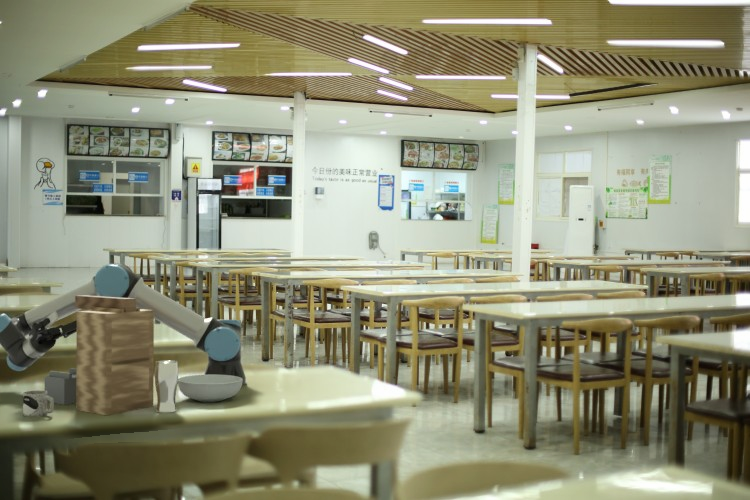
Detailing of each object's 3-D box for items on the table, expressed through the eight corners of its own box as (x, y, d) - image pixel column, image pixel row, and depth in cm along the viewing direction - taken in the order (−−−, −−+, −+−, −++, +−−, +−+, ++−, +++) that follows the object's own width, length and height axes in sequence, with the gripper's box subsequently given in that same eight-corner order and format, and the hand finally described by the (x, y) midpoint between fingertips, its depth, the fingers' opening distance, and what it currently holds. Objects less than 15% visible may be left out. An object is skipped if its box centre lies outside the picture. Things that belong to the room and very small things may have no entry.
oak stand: (76, 409, 271) (76, 308, 271) (123, 401, 286) (123, 304, 285) (106, 415, 263) (106, 310, 263) (153, 406, 278) (153, 306, 278)
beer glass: (156, 414, 266) (156, 363, 265) (152, 409, 272) (152, 360, 272) (180, 412, 268) (180, 362, 268) (175, 408, 275) (175, 359, 275)
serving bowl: (243, 404, 282) (243, 383, 282) (175, 406, 279) (175, 384, 278) (242, 393, 303) (242, 373, 302) (179, 394, 299) (179, 374, 299)
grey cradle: (44, 401, 285) (44, 371, 285) (76, 395, 295) (76, 367, 295) (64, 404, 279) (64, 374, 279) (95, 399, 289) (95, 370, 289)
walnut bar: (75, 308, 282) (75, 295, 282) (85, 307, 285) (85, 295, 285) (125, 312, 269) (125, 299, 268) (136, 311, 272) (136, 298, 272)
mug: (18, 415, 262) (18, 393, 262) (34, 411, 268) (34, 389, 268) (45, 418, 258) (45, 395, 258) (61, 414, 264) (61, 392, 264)
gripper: (75, 349, 305) (110, 321, 294) (9, 357, 284) (44, 327, 273) (68, 329, 307) (103, 301, 296) (2, 335, 286) (36, 305, 275)
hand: (74, 313), depth 285 cm, fingers open, 13 cm apart
